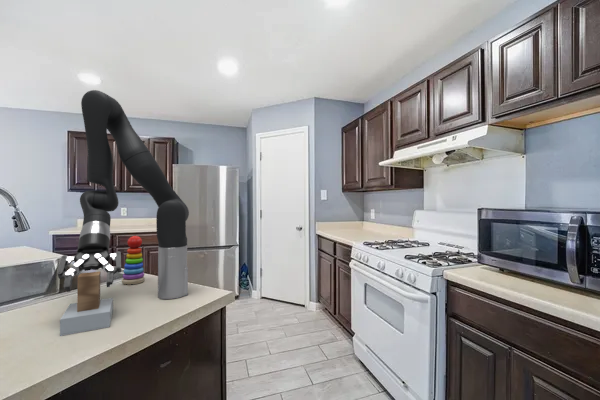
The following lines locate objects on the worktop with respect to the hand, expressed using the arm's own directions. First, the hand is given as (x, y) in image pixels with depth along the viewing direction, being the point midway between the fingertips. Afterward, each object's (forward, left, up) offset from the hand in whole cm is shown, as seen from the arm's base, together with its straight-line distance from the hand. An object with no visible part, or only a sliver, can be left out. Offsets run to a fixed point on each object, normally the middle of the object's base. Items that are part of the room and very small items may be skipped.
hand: (88, 287), depth 75 cm
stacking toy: (-10, -38, -10) cm, 41 cm away
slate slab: (0, -1, -10) cm, 10 cm away
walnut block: (0, -1, -6) cm, 6 cm away
